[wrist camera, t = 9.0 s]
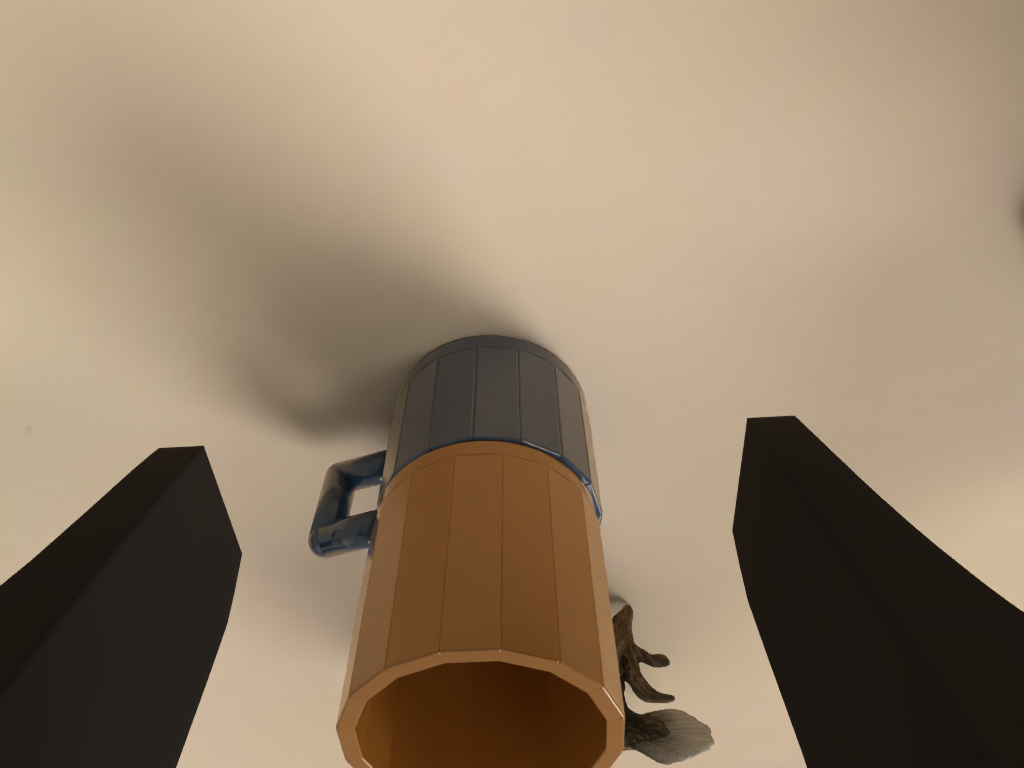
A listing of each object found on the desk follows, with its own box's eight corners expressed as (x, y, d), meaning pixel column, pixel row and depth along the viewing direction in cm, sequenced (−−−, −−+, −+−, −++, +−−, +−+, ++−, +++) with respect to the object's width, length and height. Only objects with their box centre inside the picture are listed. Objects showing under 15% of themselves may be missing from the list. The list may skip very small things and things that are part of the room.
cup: (555, 311, 21) (566, 411, 18) (606, 460, 24) (624, 573, 21) (291, 386, 23) (251, 494, 19) (370, 519, 26) (348, 634, 22)
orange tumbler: (642, 518, 20) (684, 732, 15) (496, 625, 22) (494, 840, 17) (474, 400, 18) (464, 607, 13) (333, 531, 20) (281, 747, 15)
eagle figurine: (481, 572, 25) (367, 764, 29) (630, 767, 21) (477, 968, 24) (626, 555, 31) (518, 717, 34) (768, 707, 27) (629, 877, 30)
